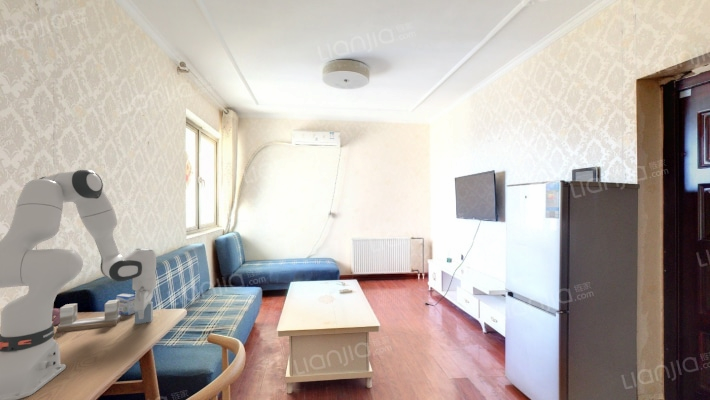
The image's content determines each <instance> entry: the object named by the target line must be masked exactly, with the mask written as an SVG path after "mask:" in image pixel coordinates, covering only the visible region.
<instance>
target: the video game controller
mask: <svg viewBox="0 0 710 400" xmlns="http://www.w3.org/2000/svg"><path fill="white" fill-rule="evenodd" d="M54 316H55V317H54ZM52 324H53V325H54V326H58V325H59V324H60V308H53V312H52Z"/></svg>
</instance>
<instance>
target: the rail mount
mask: <svg viewBox="0 0 710 400" xmlns="http://www.w3.org/2000/svg"><path fill="white" fill-rule="evenodd" d="M59 309H60V323H59V324H57V328H56V330H55V331H56V333H60V332H71V331H78V330H87V329H96V328H97V329H98V328H103V327H105V328H106V327H111V326H112V327H113V326H117V325H118V324H119V323H120V321H121V320H122V315H121V314H119V300H116V299H112V300H111V299H110V300H107V302H105V303H104V316H99V317H98V316H96V317H88V318H79V319H78V303H69V304H68V303H67V304H65V305H63V306H61V307H60V308H59Z"/></svg>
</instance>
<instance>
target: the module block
mask: <svg viewBox="0 0 710 400" xmlns="http://www.w3.org/2000/svg"><path fill="white" fill-rule="evenodd" d="M153 312H154V302H153V301H152V300H151V301H149V302H148V305H147V307H146V308H145V310H144V318H143V319H139V315H138V312H135V313H134V325H140V324H146V322H149V323H152V320H153V319H154V318H153V317H154V315H153V314H154V313H153ZM139 323H140V324H139Z"/></svg>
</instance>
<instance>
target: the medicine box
mask: <svg viewBox="0 0 710 400" xmlns="http://www.w3.org/2000/svg"><path fill="white" fill-rule="evenodd" d="M115 300H119V315H122V316H123V315H125V316H130V315H132V314H133V315H134V314H135V311H134V302H135V294H130V293H120V294H117V295H116V296H115Z"/></svg>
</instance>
